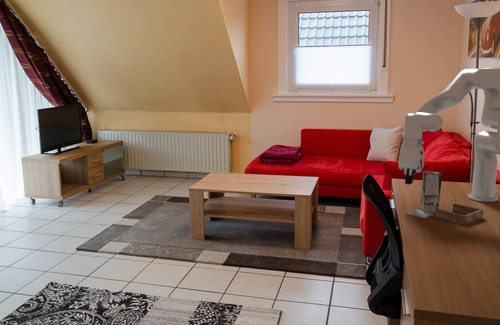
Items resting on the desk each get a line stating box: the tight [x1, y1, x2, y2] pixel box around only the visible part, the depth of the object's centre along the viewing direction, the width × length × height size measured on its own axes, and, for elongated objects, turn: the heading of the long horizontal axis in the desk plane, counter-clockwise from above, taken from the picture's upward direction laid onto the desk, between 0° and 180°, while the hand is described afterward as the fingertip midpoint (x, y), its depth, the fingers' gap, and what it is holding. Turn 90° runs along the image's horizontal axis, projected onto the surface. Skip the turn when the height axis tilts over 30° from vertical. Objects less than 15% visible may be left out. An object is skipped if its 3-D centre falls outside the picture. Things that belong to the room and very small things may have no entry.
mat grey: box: [406, 209, 435, 219], centre depth 202 cm, size 8×8×1 cm
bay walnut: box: [434, 202, 484, 226], centre depth 197 cm, size 14×13×4 cm
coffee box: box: [419, 170, 443, 214], centre depth 206 cm, size 9×6×16 cm
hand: (408, 183), depth 213 cm, fingers closed
